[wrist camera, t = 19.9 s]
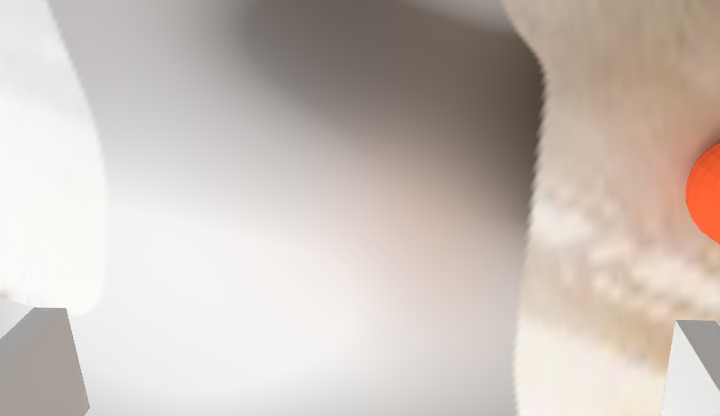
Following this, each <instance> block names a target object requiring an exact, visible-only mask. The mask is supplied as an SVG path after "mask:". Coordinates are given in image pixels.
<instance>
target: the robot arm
mask: <svg viewBox="0 0 720 416" xmlns="http://www.w3.org/2000/svg"><path fill="white" fill-rule="evenodd" d="M89 408H90V407H89V403H88V398H87V394H86V390H85V386H84V381H83V377H82V373H81V369H80V365H79V361H78V356H77V352H76V348H75V344H74V340H73V335H72V331H71V327H70V323H69V319H68V314H67V310H66V308H33V309H32V310H31V311H30V312H29V313H28V314H27V315H26V316H25V317H24V318H23V319H22V320H21V321H20V322H18V323H17V324H16V325H15V326H14V327H13V328H12V329H11V330H10V331H9V332H8V333H7V334H6V335H5V336H4V337H2V338H1V339H0V416H84V415H85V413H86V412H87V411H88V409H89ZM660 416H720V327H719V326H718V324H717V323H716V321H696V320H675V327H674V333H673V339H672V345H671V352H670V358H669V364H668V370H667V377H666V383H665V389H664V395H663V402H662V408H661V414H660Z"/></svg>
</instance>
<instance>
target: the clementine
mask: <svg viewBox="0 0 720 416" xmlns="http://www.w3.org/2000/svg"><path fill="white" fill-rule="evenodd" d="M686 203H687V206H688V209H689V212H690V215H691V217H692V219H693V221H694V222H695V223H696V225H697V226H698V227H699V229H700V230H701V231H702V232H703V233H705V234H706V235H707V236H709V237H710V238H712V239H713V240H714V241H716V242H717V243H719V244H720V143H718V144H716V145H715V146H713V147H712V148H710V149H709V150H707V151H706V152H705V153H704V154H703V155H702V156H701V157H700V158H699V159H698V160H697V162H696V163H695V165H694V167H693V168H692V170H691V172H690V175H689V179H688V182H687V186H686Z"/></svg>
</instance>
